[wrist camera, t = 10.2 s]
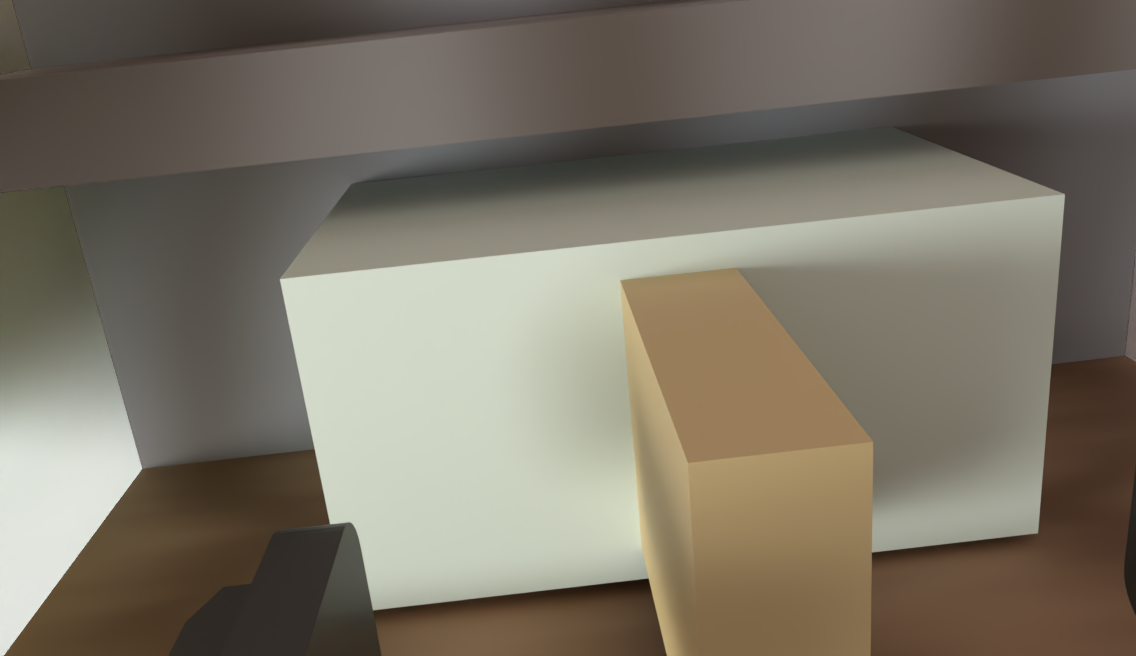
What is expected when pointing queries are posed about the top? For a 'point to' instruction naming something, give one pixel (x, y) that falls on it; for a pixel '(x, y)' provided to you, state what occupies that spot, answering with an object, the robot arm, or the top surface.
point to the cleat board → (517, 138)
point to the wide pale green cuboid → (683, 376)
